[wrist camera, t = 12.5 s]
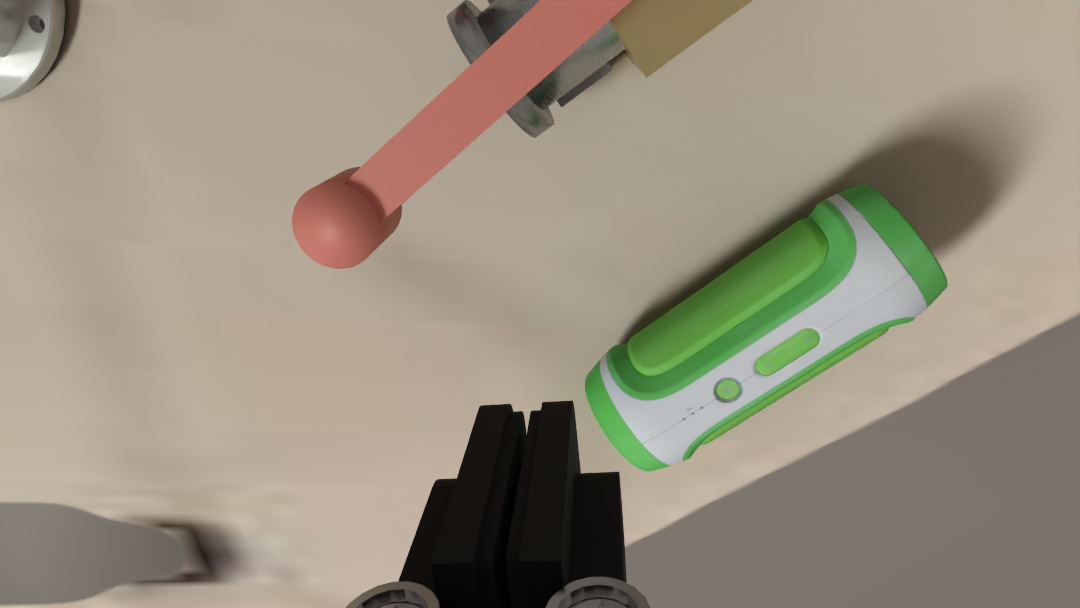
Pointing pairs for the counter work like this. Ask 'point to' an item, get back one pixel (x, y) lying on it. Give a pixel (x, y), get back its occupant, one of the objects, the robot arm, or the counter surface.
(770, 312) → the speaker
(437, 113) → the lever
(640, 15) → the pipe valve
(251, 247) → the counter surface
